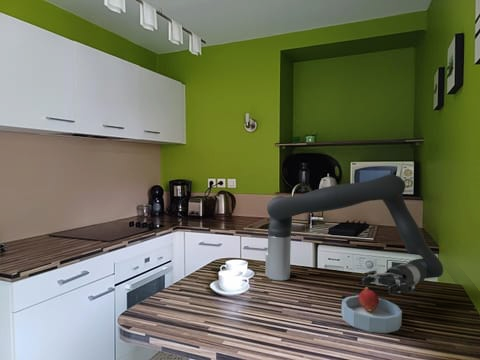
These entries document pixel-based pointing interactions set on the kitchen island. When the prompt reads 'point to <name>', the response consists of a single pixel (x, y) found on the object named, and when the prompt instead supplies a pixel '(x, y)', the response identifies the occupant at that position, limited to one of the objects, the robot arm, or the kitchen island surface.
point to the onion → (368, 299)
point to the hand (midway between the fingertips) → (375, 286)
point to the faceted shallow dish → (372, 315)
